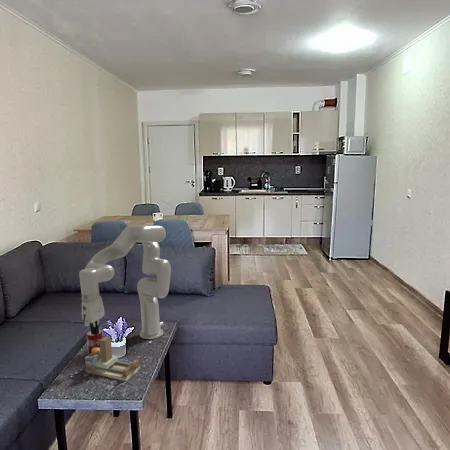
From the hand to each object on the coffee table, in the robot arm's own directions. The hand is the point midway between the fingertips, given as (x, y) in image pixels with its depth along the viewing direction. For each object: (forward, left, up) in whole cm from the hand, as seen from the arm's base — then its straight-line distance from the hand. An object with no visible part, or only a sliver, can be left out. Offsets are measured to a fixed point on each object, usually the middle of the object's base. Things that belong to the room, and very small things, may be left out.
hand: (95, 333), depth 182 cm
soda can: (-8, -8, -16) cm, 20 cm away
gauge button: (+1, 0, -12) cm, 12 cm away
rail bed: (+1, +9, -16) cm, 18 cm away
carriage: (+1, +6, -13) cm, 14 cm away
